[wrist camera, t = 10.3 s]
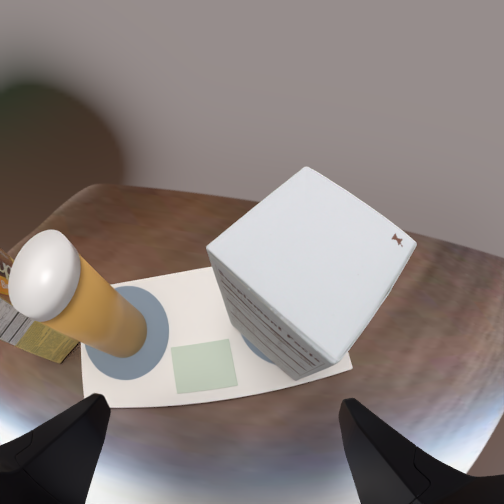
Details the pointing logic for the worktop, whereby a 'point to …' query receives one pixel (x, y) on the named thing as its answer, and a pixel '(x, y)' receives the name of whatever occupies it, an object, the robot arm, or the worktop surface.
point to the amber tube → (73, 297)
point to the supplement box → (307, 271)
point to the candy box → (28, 325)
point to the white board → (185, 350)
